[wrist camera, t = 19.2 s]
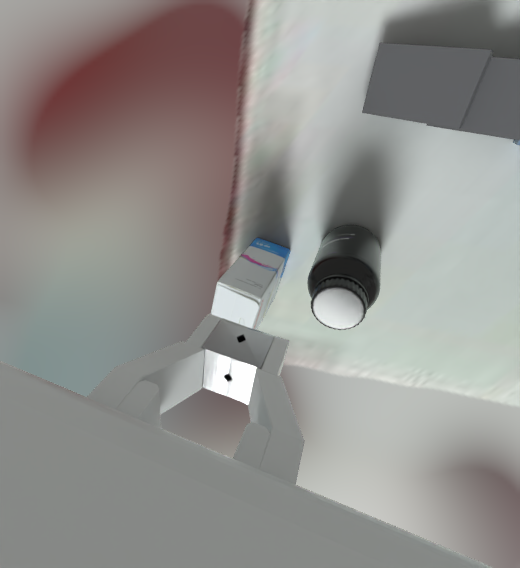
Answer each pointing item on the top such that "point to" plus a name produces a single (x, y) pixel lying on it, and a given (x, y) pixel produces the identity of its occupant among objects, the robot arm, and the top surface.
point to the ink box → (250, 284)
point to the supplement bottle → (345, 277)
